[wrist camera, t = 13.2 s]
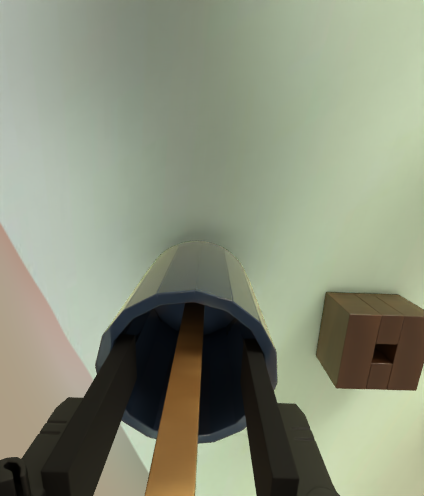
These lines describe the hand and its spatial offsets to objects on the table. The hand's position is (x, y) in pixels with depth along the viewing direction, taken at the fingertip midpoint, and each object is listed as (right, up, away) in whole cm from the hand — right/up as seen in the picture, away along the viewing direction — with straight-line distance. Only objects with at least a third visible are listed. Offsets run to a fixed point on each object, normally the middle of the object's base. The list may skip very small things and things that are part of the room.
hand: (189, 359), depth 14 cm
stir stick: (0, +2, +8) cm, 8 cm away
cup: (0, +2, +9) cm, 9 cm away
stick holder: (+18, -3, +16) cm, 24 cm away
